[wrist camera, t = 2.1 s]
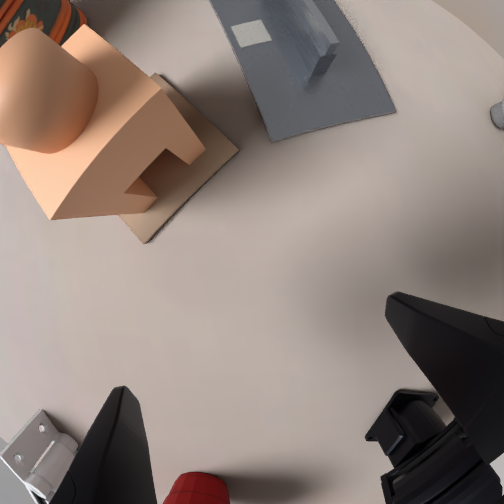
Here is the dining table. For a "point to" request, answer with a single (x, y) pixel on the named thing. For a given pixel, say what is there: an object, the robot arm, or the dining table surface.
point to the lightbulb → (498, 114)
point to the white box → (30, 450)
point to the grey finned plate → (302, 64)
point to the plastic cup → (198, 490)
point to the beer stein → (40, 18)
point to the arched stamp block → (85, 124)
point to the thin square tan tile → (178, 169)
